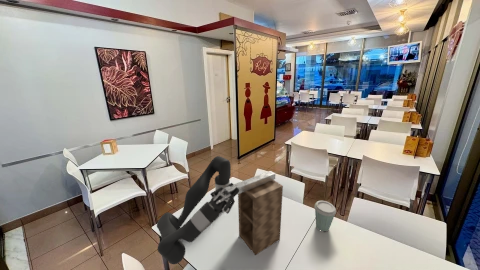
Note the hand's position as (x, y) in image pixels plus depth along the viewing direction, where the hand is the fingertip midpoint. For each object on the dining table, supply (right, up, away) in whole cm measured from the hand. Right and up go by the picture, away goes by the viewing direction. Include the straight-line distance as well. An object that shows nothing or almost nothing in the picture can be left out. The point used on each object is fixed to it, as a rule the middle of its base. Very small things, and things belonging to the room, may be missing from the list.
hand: (235, 186), depth 84 cm
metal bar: (+7, -1, +5) cm, 9 cm away
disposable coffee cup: (+47, -29, +23) cm, 60 cm away
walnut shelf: (+12, -32, +18) cm, 38 cm away
